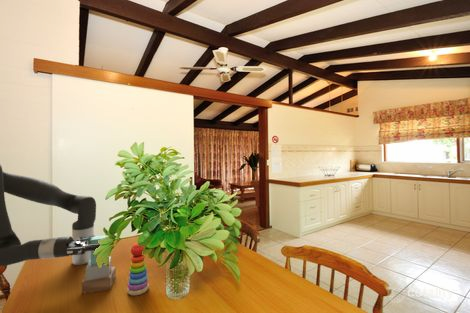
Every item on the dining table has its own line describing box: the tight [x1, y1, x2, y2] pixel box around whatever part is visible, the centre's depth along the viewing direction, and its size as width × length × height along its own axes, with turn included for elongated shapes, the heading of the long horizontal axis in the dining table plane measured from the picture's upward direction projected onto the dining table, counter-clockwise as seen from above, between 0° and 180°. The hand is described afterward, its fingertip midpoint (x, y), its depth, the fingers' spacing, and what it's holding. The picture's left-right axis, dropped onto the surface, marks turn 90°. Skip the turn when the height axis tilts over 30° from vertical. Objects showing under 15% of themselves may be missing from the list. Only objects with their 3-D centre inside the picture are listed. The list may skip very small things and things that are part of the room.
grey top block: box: [85, 255, 112, 281], centre depth 95 cm, size 8×8×5 cm
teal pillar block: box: [91, 234, 107, 265], centre depth 95 cm, size 5×5×10 cm
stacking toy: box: [126, 242, 150, 296], centre depth 91 cm, size 8×8×19 cm
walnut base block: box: [81, 266, 117, 294], centre depth 95 cm, size 10×10×5 cm
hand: (102, 242), depth 95 cm, fingers open, 8 cm apart
